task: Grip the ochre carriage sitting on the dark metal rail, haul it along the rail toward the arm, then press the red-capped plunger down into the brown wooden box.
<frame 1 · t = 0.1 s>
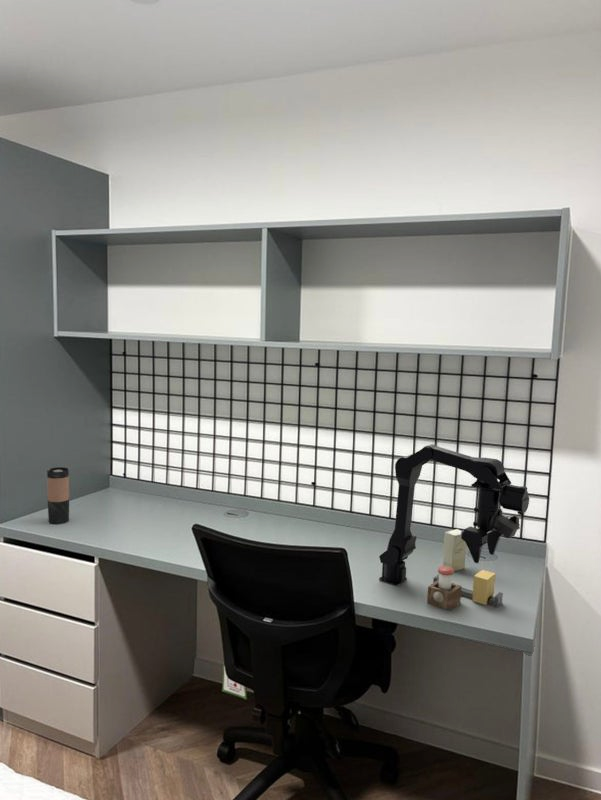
hand: (484, 558, 180), 14 cm above the table, tool pointing down, fingers open, 9 cm apart
plunger: (445, 580, 183), point 7 cm above the table, slide at 0.0 cm
brown wooden box: (443, 602, 184), on the table
carriage: (483, 587, 186), point 4 cm above the table, slide at 0.0 cm
skincare box: (453, 568, 210), on the table
rail: (466, 595, 189), on the table
travel mug: (58, 521, 242), on the table
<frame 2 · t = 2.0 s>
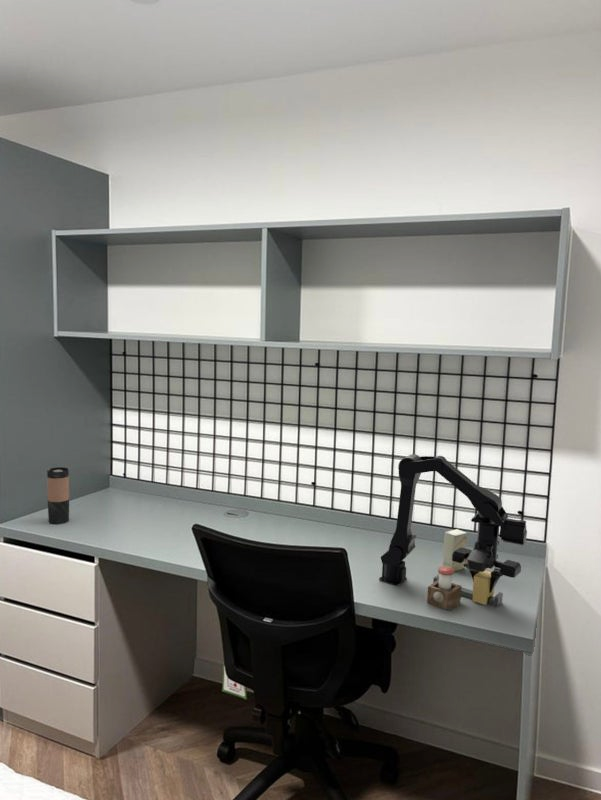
hand: (483, 590, 186), 3 cm above the table, tool pointing down, fingers closed on carriage, 4 cm apart
carriage: (483, 587, 186), point 4 cm above the table, slide at 0.0 cm, touching gripper
everything else where it was.
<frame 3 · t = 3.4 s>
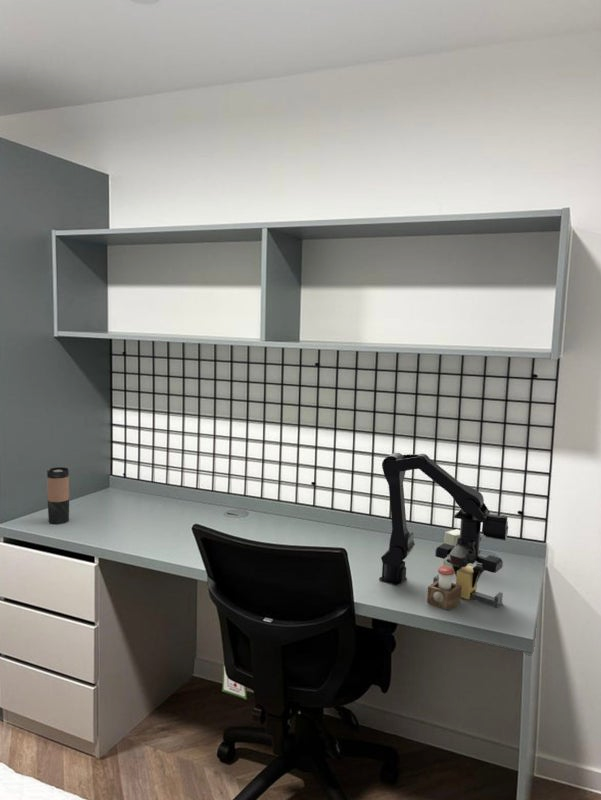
hand: (466, 585, 189), 3 cm above the table, tool pointing down, fingers closed on carriage, 4 cm apart
carriage: (466, 582, 189), point 4 cm above the table, slide at 5.3 cm, touching gripper
everything else where it was.
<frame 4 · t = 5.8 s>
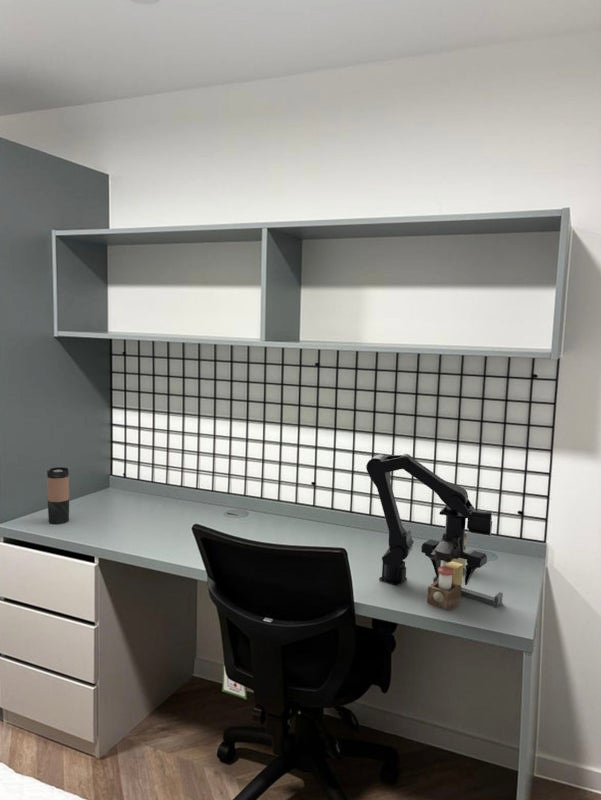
hand: (451, 580, 192), 3 cm above the table, tool pointing down, fingers open, 9 cm apart
carriage: (451, 577, 192), point 4 cm above the table, slide at 10.0 cm
everything else where it was.
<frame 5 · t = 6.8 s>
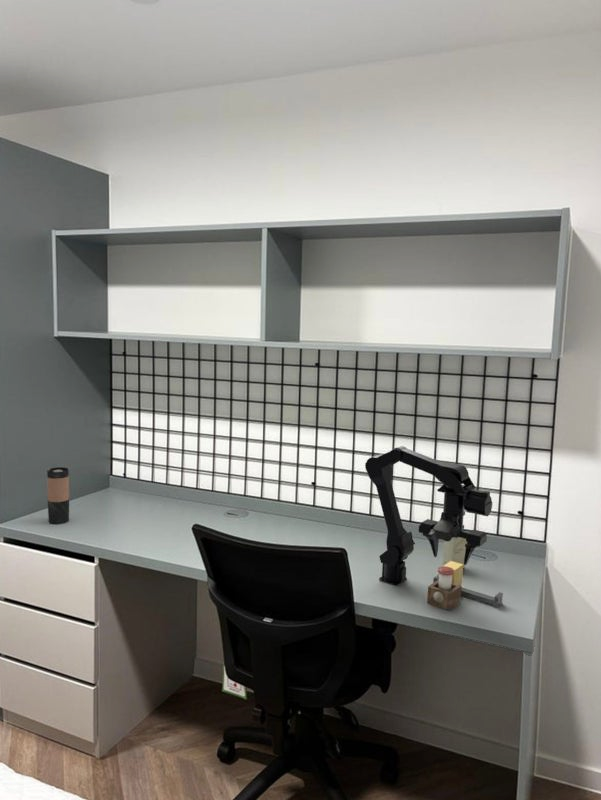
hand: (450, 560, 187), 11 cm above the table, tool pointing down, fingers open, 9 cm apart
nothing on the table moved.
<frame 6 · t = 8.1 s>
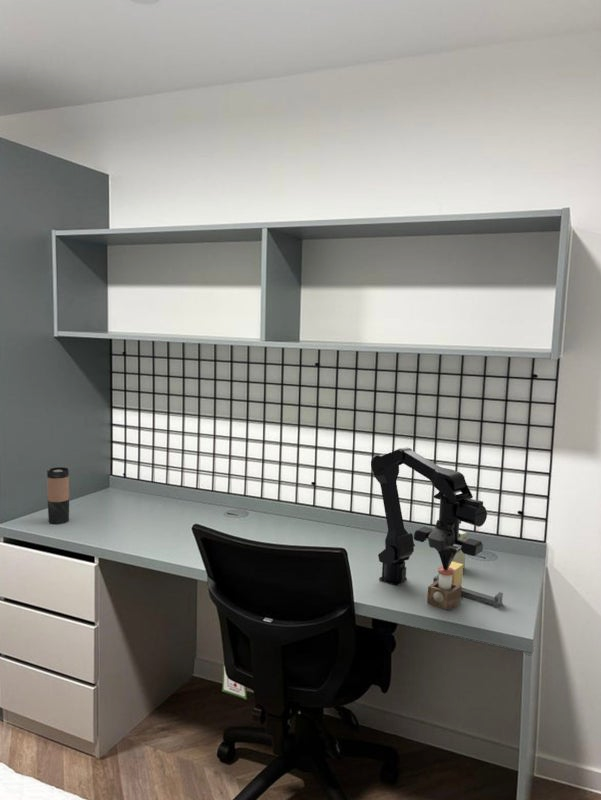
hand: (445, 569, 183), 10 cm above the table, tool pointing down, fingers closed, pressing on plunger
plunger: (445, 580, 183), point 7 cm above the table, slide at 0.0 cm, touching gripper
everything else where it was.
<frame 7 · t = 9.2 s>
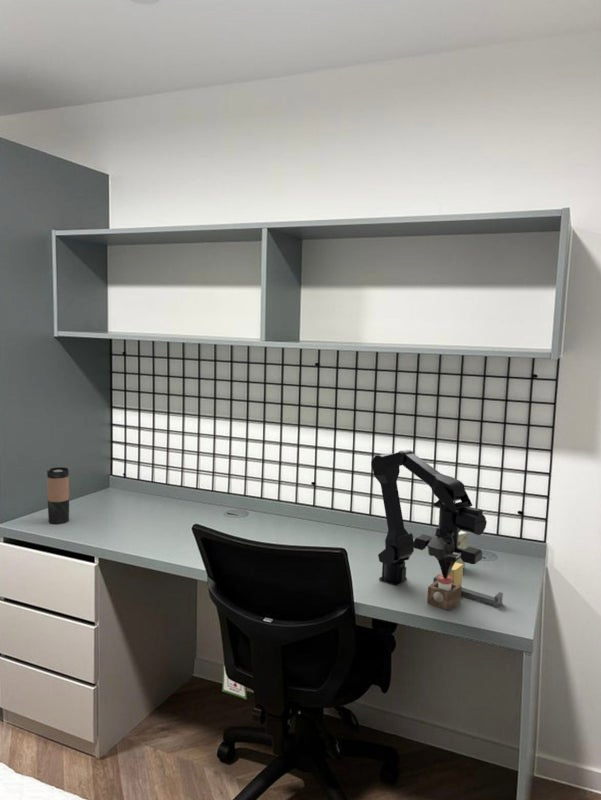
hand: (445, 577, 183), 8 cm above the table, tool pointing down, fingers closed
plunger: (444, 589, 183), point 4 cm above the table, slide at 2.5 cm
everything else where it was.
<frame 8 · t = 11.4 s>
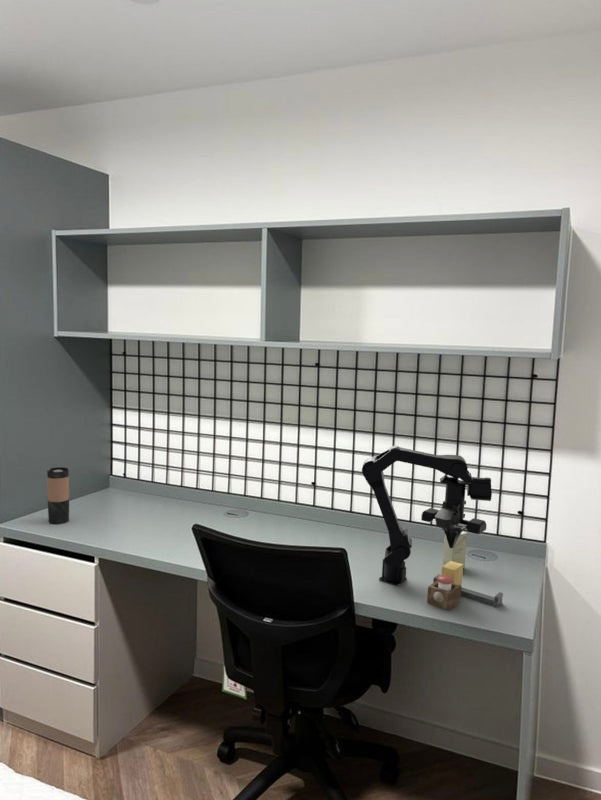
hand: (451, 547, 194), 12 cm above the table, tool pointing down, fingers closed
nothing on the table moved.
at the end: carriage slide at 10.0 cm; plunger slide at 2.5 cm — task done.
